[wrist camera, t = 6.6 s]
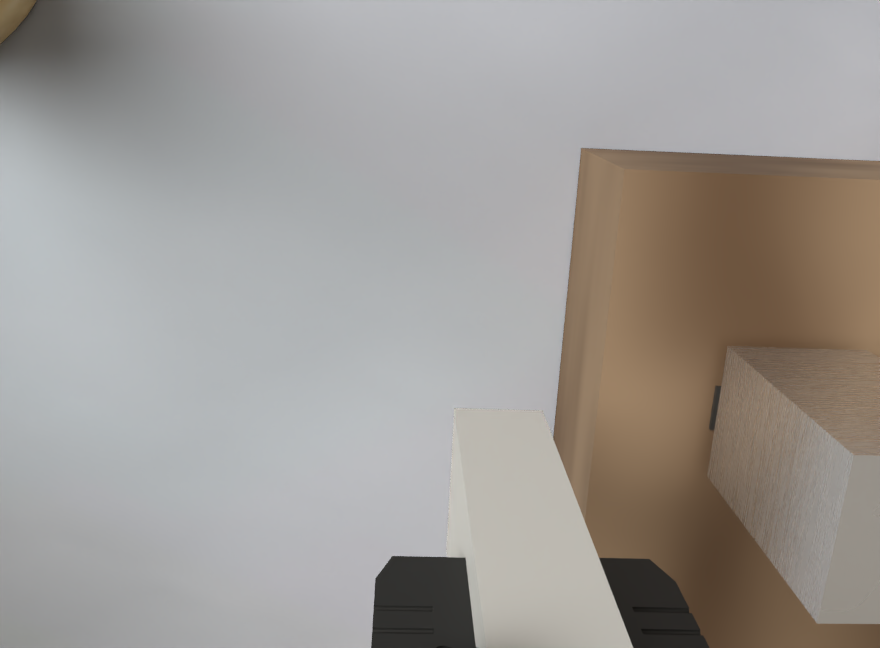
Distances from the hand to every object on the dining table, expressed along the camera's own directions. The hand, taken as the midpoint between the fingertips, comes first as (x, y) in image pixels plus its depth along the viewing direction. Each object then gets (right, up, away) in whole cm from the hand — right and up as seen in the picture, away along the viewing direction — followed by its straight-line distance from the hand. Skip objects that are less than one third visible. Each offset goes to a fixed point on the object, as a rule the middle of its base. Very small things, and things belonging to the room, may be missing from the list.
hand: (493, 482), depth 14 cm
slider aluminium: (+6, +1, +3) cm, 7 cm away
